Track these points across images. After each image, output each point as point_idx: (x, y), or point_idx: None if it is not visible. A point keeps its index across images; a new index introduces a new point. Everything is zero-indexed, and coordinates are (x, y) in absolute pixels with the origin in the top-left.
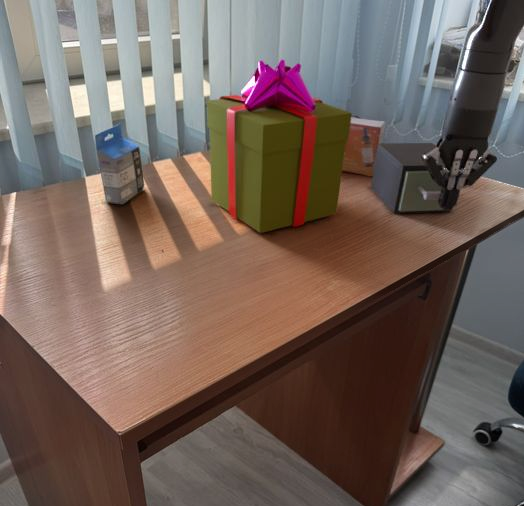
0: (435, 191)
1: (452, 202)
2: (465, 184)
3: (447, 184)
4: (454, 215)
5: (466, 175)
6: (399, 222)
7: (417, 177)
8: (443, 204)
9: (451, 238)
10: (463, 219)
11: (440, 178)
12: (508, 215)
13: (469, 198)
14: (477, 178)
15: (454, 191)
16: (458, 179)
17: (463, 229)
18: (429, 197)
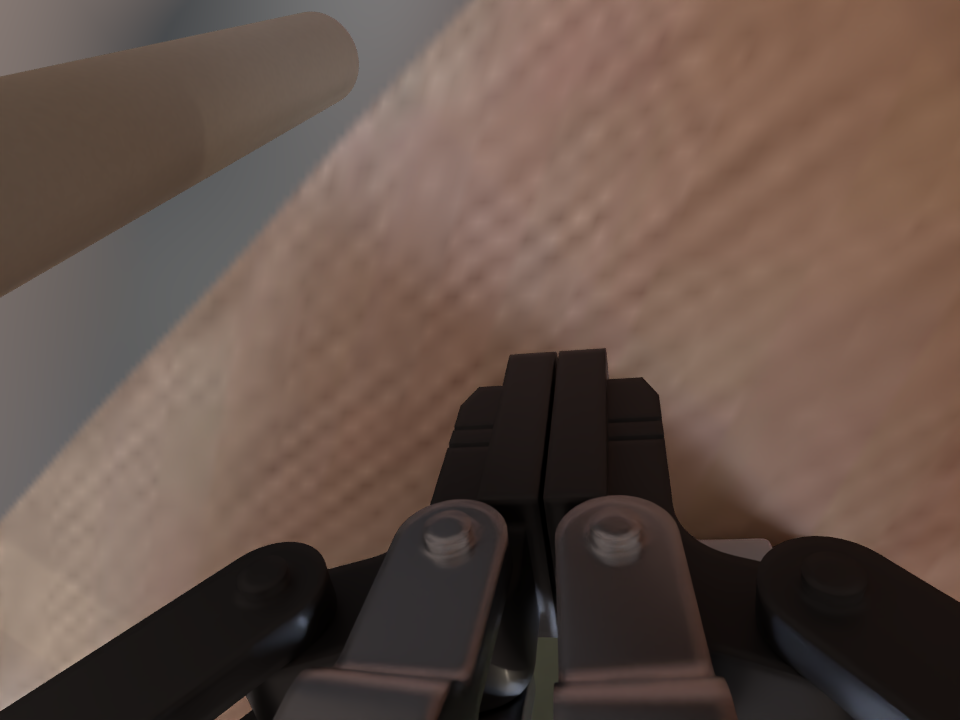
0: (550, 699)
1: (526, 393)
2: (345, 584)
3: (686, 566)
4: (377, 528)
5: (345, 677)
6: (873, 435)
7: None
8: (628, 392)
9: (516, 142)
10: (326, 473)
11: (915, 665)
12: (22, 517)
13: (232, 713)
14: (138, 640)
15: (525, 486)
16: (486, 639)
17: (364, 318)
18: (734, 551)
